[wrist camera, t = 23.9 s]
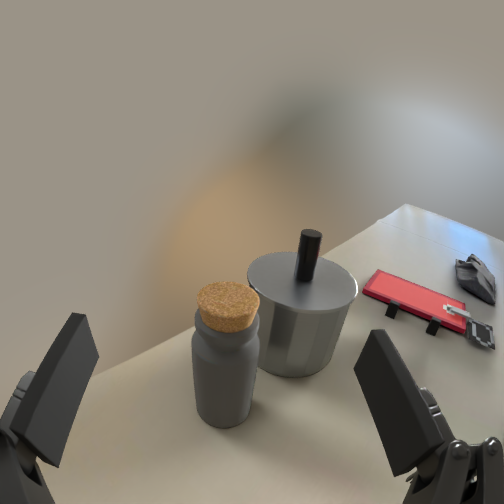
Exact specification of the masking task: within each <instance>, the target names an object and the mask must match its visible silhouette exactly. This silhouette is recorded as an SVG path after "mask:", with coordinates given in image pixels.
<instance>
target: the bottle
mask: <svg viewBox="0 0 504 504" xmlns="http://www.w3.org/2000/svg"><path fill="white" fill-rule="evenodd" d="M197 303H198V307H199V308H198V309H197V311H196V314H195V328H196V331H195V332H194V334H193V336H192V363H193V376H194V388H195V398H196V406H197V411H198V413H199V415H200V417H201V418H202V419H203V420H204V421H205V422H206V423H208V424H210V425H212V426H215V427H219V428H229V427H233V426H236V425H238V424H240V423H242V422H243V421H244V420H245V419H246V417H247V416H248V414H249V410H250V406H251V400H252V395H253V389H254V383H255V378H256V371H257V365H258V359H259V352H260V339H259V337H258V335H257V332H258V328H259V315H258V313H257V309H258V307H259V304H260V300H259V296H258V295H257V293H256V292H255V291H254V290H253V289H251V288H250V287H248V286H246V285H243V284H240V283H236V282H216V283H213V284H209V285H207V286H205V287H204V288H202V289H201V290H200V291H199V293H198V295H197Z"/></svg>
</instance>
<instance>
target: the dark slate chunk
mask: <svg viewBox="0 0 504 504" xmlns="http://www.w3.org/2000/svg"><path fill="white" fill-rule="evenodd" d="M456 271H457V276H458V282H459V285H461V286H462V287H464V288H465V289H466V290H468V291H470V292H472V293H474V294H475V295H477V296H479V297H480V298H482V299H483V300H484V301H486V302H488V303H490V304H495V280H494V279H495V277H494V276H493V275H492V274H491V273H490V271H489V270H488V269H487V267H486V266H485V264H484V263H483V262H482V261H481V260H479V259H478V258H477V257H476V256H475V255H474V254H471V256H469V257H468V259H467V261H466V262H465V261H462V260H457V259H456Z"/></svg>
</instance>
